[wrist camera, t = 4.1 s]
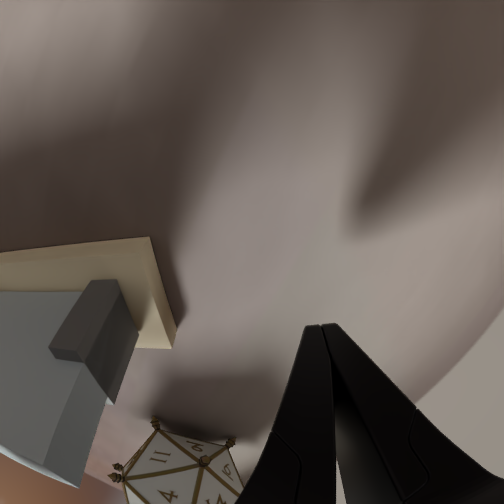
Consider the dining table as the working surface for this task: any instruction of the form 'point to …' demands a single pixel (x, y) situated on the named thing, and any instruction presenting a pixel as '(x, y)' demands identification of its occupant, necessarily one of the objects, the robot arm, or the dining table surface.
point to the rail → (98, 268)
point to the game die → (179, 471)
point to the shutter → (60, 373)
